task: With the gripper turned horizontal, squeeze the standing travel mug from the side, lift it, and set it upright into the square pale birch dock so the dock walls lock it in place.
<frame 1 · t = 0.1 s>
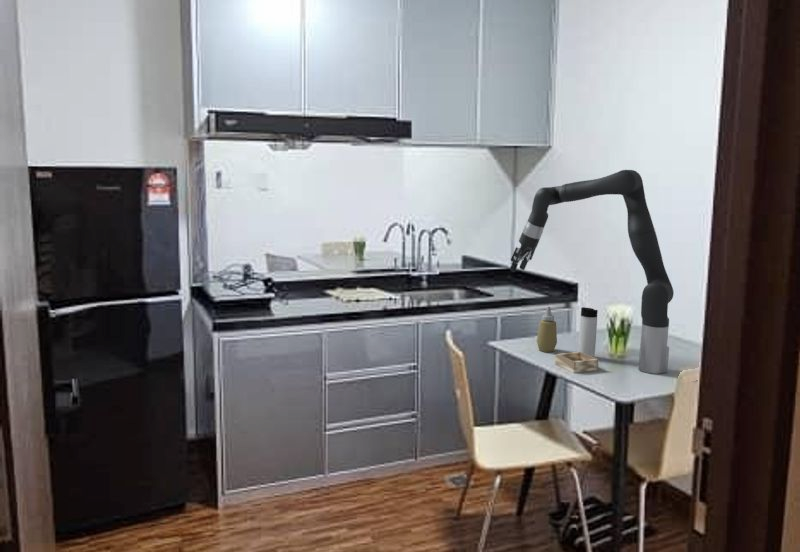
hand: (516, 270, 282), 31 cm above the table, tool tilted 20°, fingers open, 8 cm apart
travel mug: (585, 357, 270), on the table
squeeze bottle: (546, 351, 279), on the table
birch dock: (576, 367, 257), on the table
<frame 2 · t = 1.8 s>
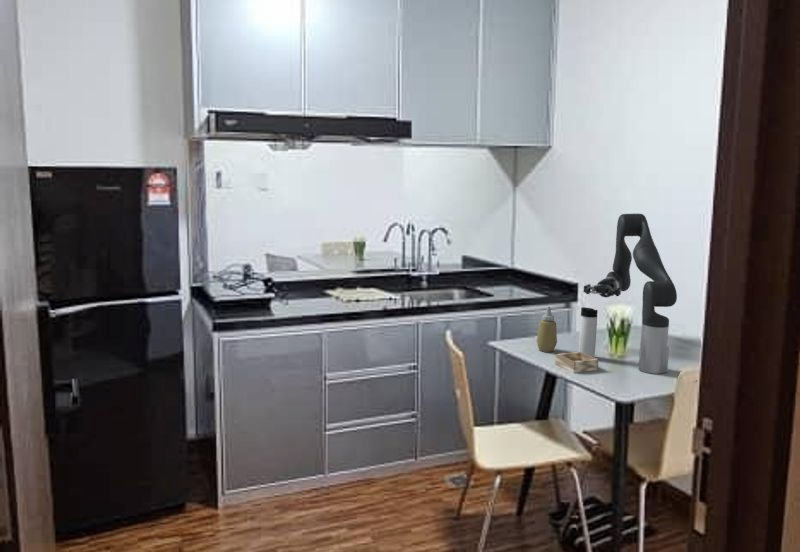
hand: (597, 292, 275), 24 cm above the table, tool horizontal, fingers open, 8 cm apart
nothing on the table moved.
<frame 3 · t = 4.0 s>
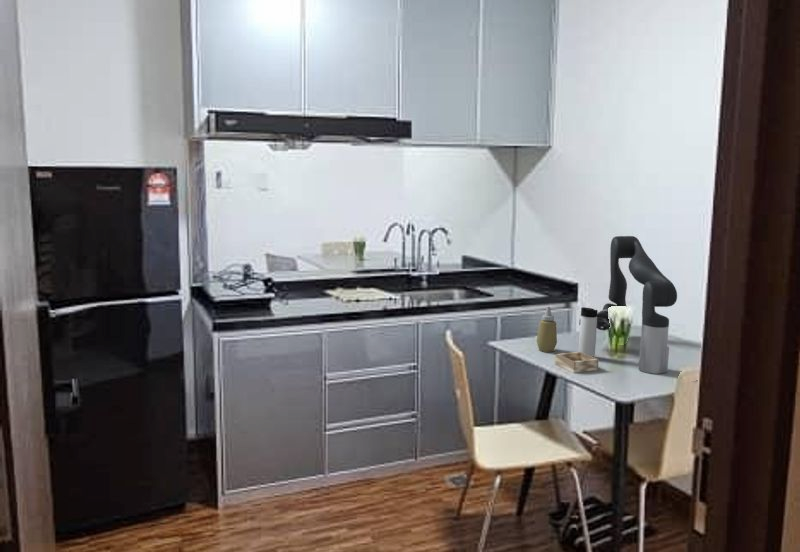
hand: (593, 326, 274), 11 cm above the table, tool horizontal, fingers open, 8 cm apart
nothing on the table moved.
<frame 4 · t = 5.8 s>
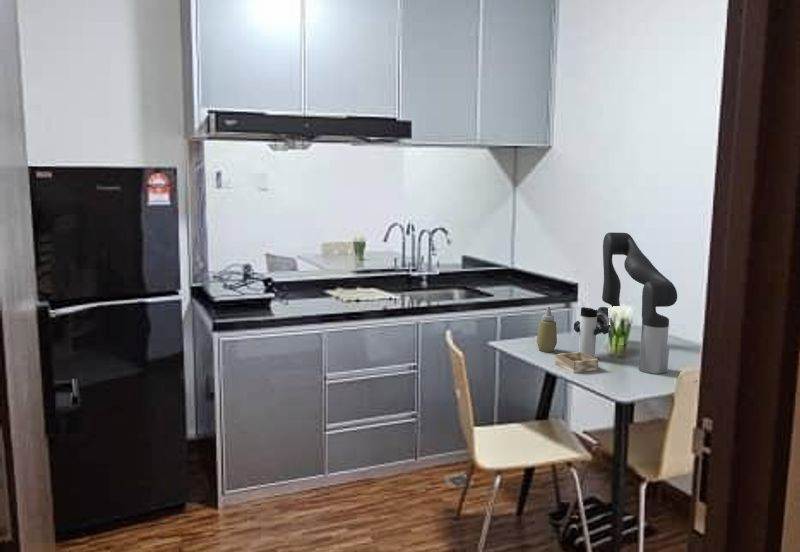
hand: (586, 331, 266), 11 cm above the table, tool horizontal, fingers closed on travel mug, 6 cm apart
travel mug: (585, 357, 270), on the table, touching gripper
everything else where it was.
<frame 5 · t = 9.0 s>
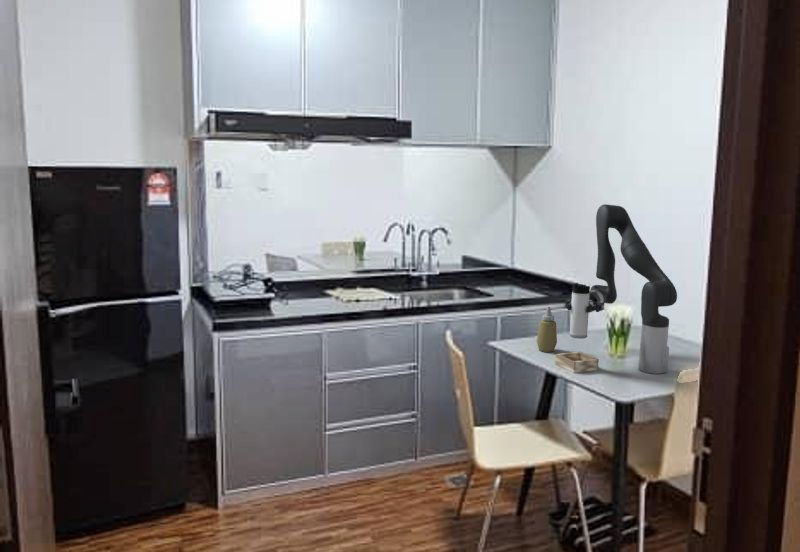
hand: (578, 308, 251), 23 cm above the table, tool horizontal, fingers closed on travel mug, 6 cm apart
travel mug: (577, 337, 255), point 11 cm above the table, touching gripper
everything else where it was.
when the fingers open (13 cm above the table, at t = 11.7 s): travel mug drops 1 cm, resting on birch dock.
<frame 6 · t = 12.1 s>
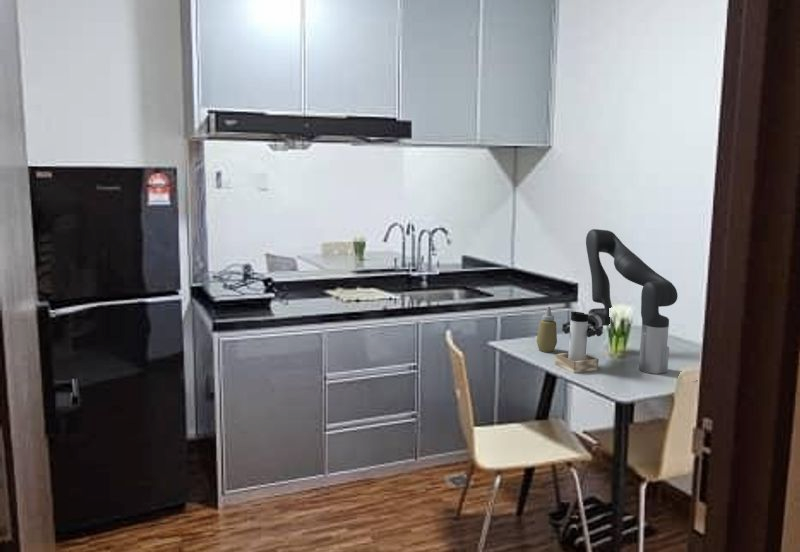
hand: (577, 332, 253), 14 cm above the table, tool horizontal, fingers open, 8 cm apart
travel mug: (576, 364, 257), point 1 cm above the table, touching birch dock
everything else where it was.
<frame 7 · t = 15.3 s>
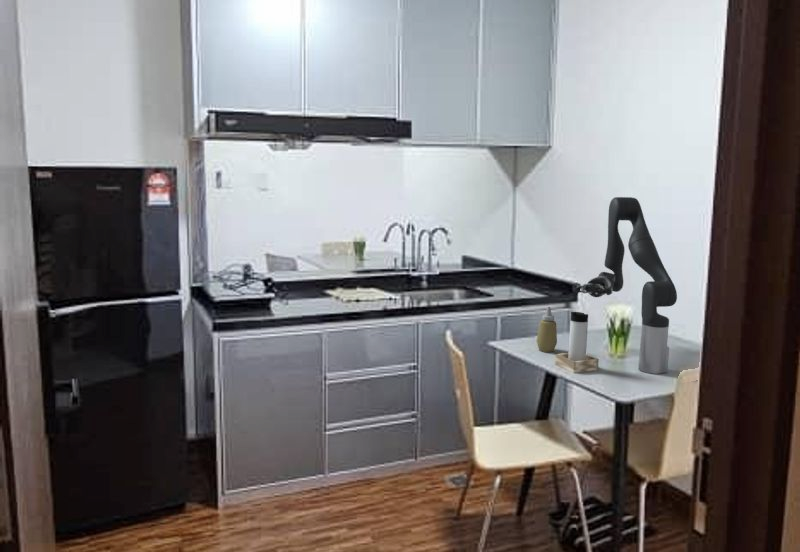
hand: (587, 291, 259), 27 cm above the table, tool horizontal, fingers open, 8 cm apart
nothing on the table moved.
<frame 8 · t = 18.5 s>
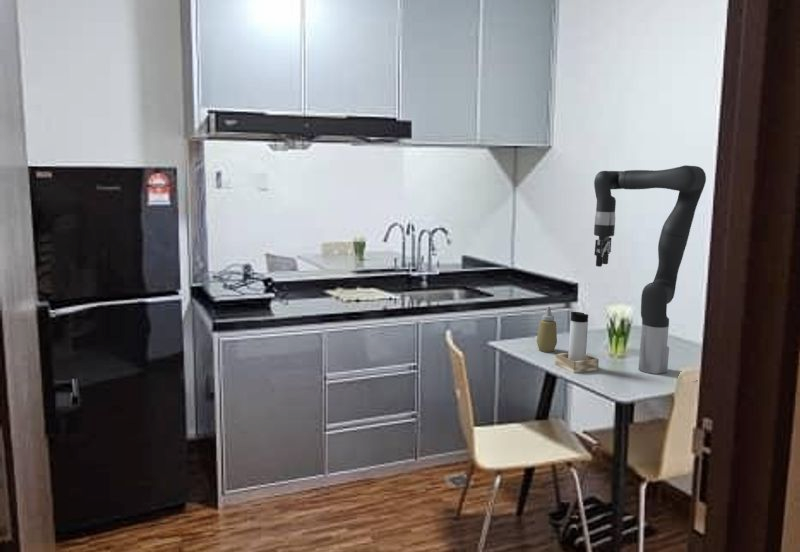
hand: (601, 265, 267), 36 cm above the table, tool pointing down, fingers open, 8 cm apart
nothing on the table moved.
at the end: travel mug 0.3 cm off-centre on the birch dock, point 0.8 cm above the birch dock's base; travel mug tilted 0°; the gripper is holding nothing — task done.
